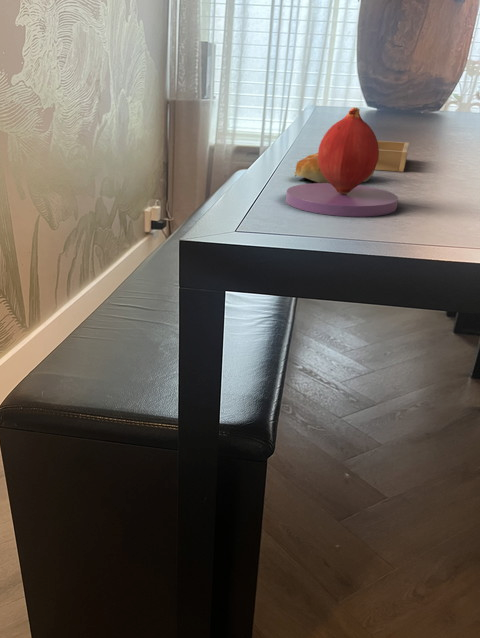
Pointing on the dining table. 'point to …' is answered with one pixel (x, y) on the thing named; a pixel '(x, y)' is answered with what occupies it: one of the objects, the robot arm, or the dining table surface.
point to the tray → (392, 156)
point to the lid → (341, 200)
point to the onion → (348, 152)
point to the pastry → (312, 169)
